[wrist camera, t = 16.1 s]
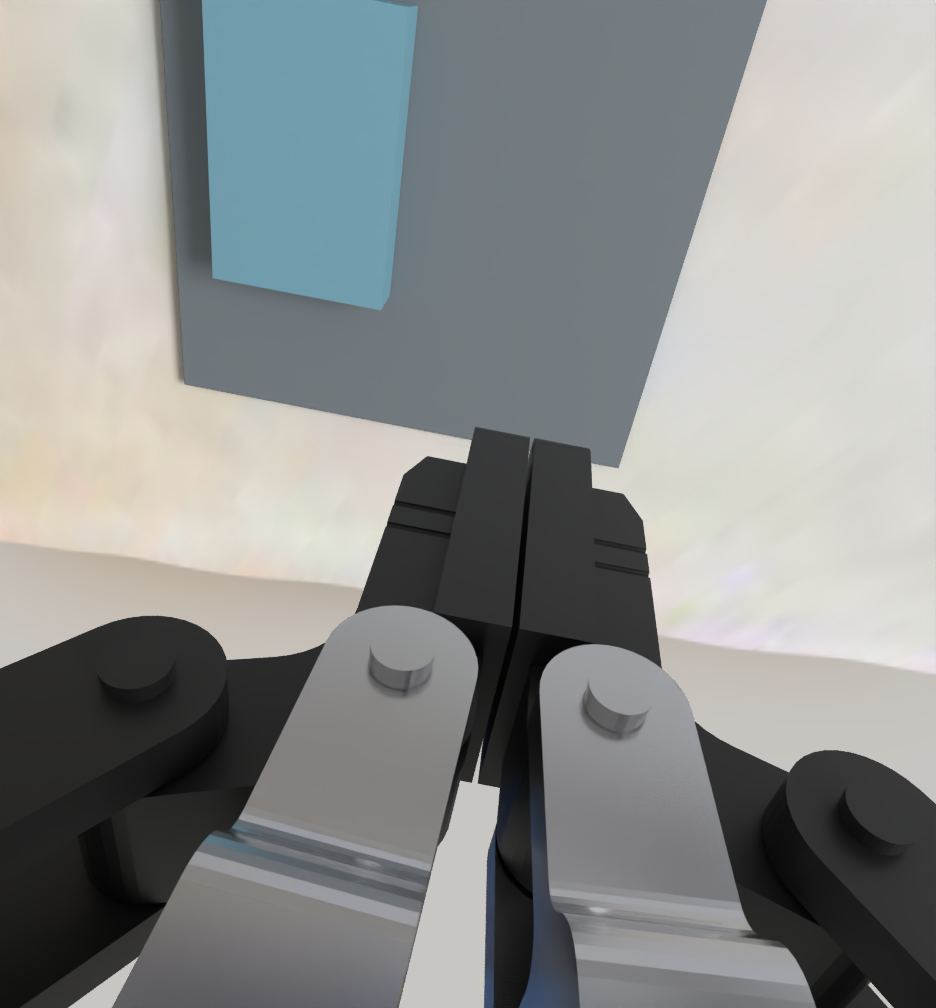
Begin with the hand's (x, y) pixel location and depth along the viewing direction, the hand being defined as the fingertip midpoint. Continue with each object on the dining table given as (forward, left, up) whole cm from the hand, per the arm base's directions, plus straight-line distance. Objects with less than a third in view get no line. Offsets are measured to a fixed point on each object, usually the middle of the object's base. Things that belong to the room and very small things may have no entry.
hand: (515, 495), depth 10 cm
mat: (0, -4, -19) cm, 19 cm away
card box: (0, -5, -18) cm, 18 cm away
